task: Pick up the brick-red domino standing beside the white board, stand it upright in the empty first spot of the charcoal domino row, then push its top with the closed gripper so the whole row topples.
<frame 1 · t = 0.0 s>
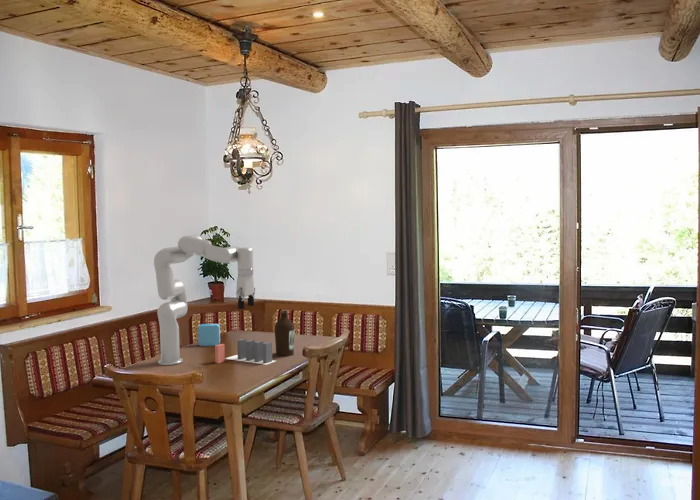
hand: (246, 307, 320), 31 cm above the table, tool pointing down, fingers open, 9 cm apart
domino 5: (267, 362, 332), point 1 cm above the table, touching board
domino 4: (259, 360, 334), point 1 cm above the table, touching board
domino 3: (250, 359, 337), point 1 cm above the table, touching board
domino 2: (242, 358, 340), point 1 cm above the table, touching board
light blue square slab: (209, 345, 378), on the table
board: (250, 361, 337), on the table
red domino: (220, 364, 333), on the table
olive oil: (285, 356, 348), on the table
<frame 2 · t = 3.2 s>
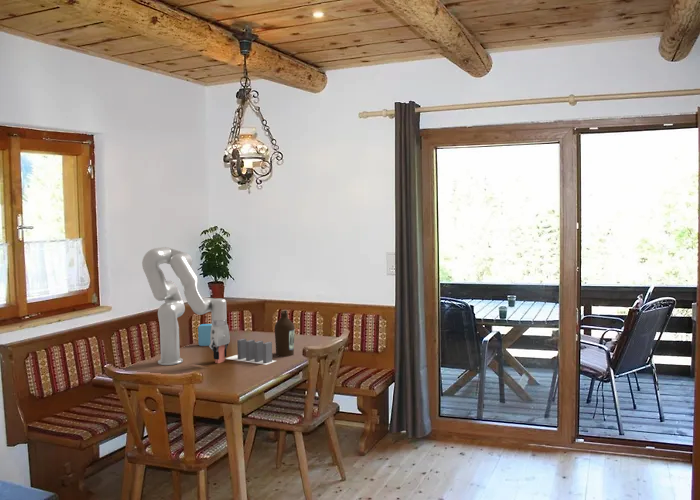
hand: (220, 357, 333), 3 cm above the table, tool pointing down, fingers closed on red domino, 4 cm apart
red domino: (220, 364, 333), on the table, touching gripper
everything else where it was.
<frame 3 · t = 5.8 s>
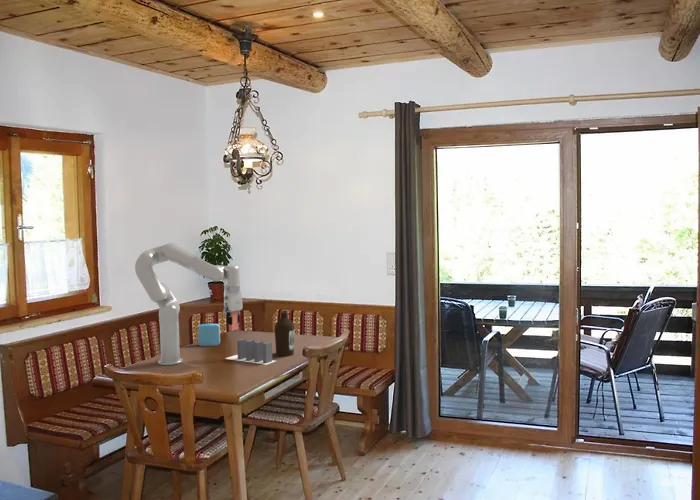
hand: (233, 323, 341), 19 cm above the table, tool pointing down, fingers closed on red domino, 4 cm apart
red domino: (233, 329, 341), point 16 cm above the table, touching gripper
everything else where it was.
when the fingers open (6 cm above the table, at t = 8.7 s): red domino stays where it is, resting on board.
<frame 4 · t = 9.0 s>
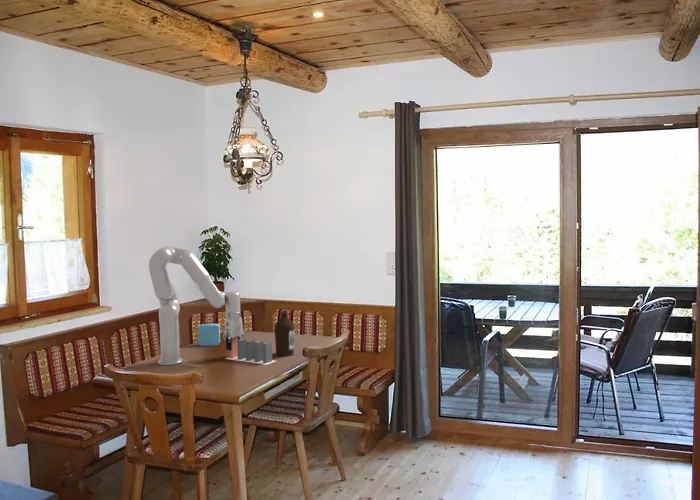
hand: (233, 348, 342), 6 cm above the table, tool pointing down, fingers open, 7 cm apart
red domino: (234, 357, 343), point 1 cm above the table, touching board
everything else where it was.
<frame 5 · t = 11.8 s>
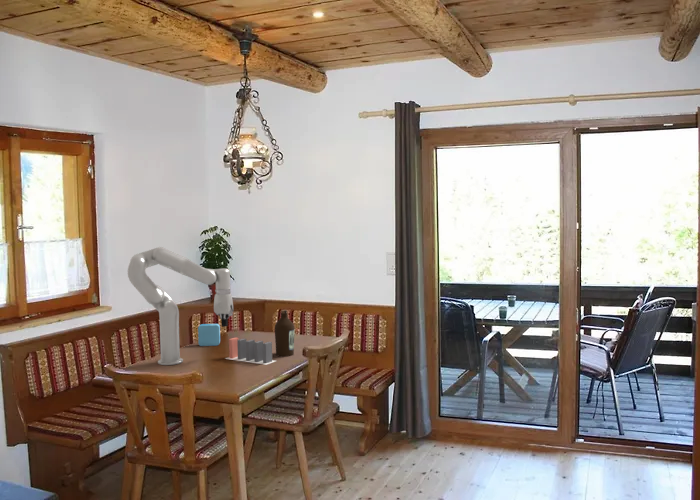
hand: (224, 326, 345), 17 cm above the table, tool pointing down, fingers closed
nothing on the table moved.
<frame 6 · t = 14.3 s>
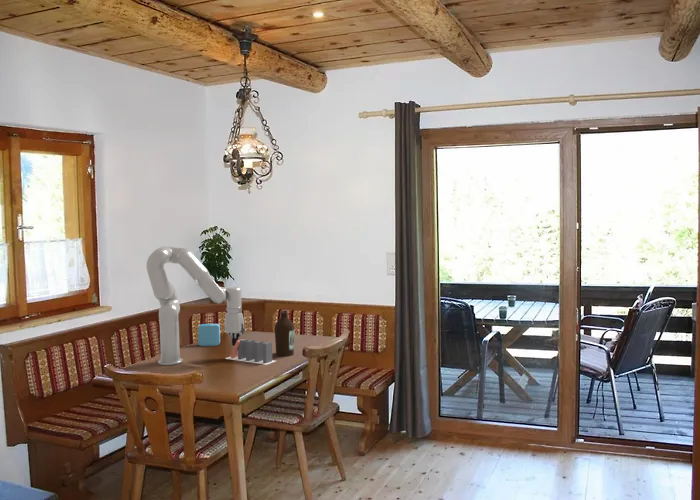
hand: (235, 345, 342), 8 cm above the table, tool pointing down, fingers closed
domino 2: (242, 358, 340), point 1 cm above the table, tilted 9°, touching board
red domino: (234, 356, 343), point 2 cm above the table, tilted 28°
everything else where it was.
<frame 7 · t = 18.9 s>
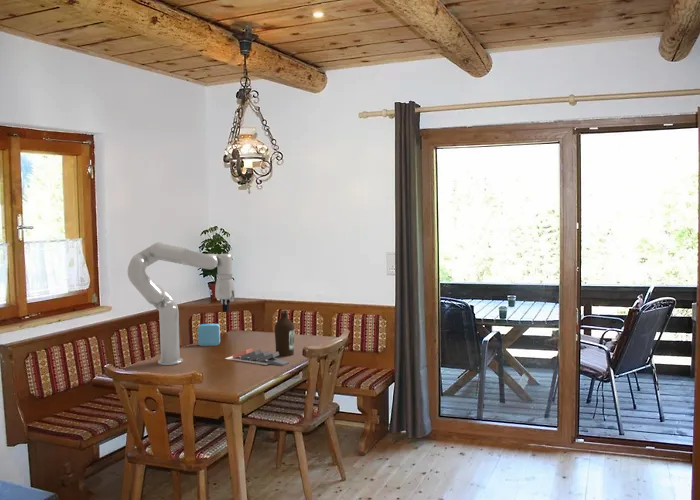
hand: (225, 311, 343), 25 cm above the table, tool pointing down, fingers closed
domino 5: (270, 360, 331), point 2 cm above the table, tilted 98°, touching board, domino 4
domino 4: (261, 359, 334), point 2 cm above the table, tilted 68°, touching board, domino 3, domino 5
domino 3: (252, 358, 337), point 2 cm above the table, tilted 69°, touching board, domino 2, domino 4
domino 2: (243, 356, 339), point 2 cm above the table, tilted 69°, touching board, domino 3, red domino
red domino: (235, 355, 342), point 2 cm above the table, tilted 69°, touching board, domino 2
everything else where it was.
at the end: domino 5 tilted 98°; red domino tilted 69°; red domino inside the target area on the board (0.7 cm from its centre), point 2.1 cm above the board's base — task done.
